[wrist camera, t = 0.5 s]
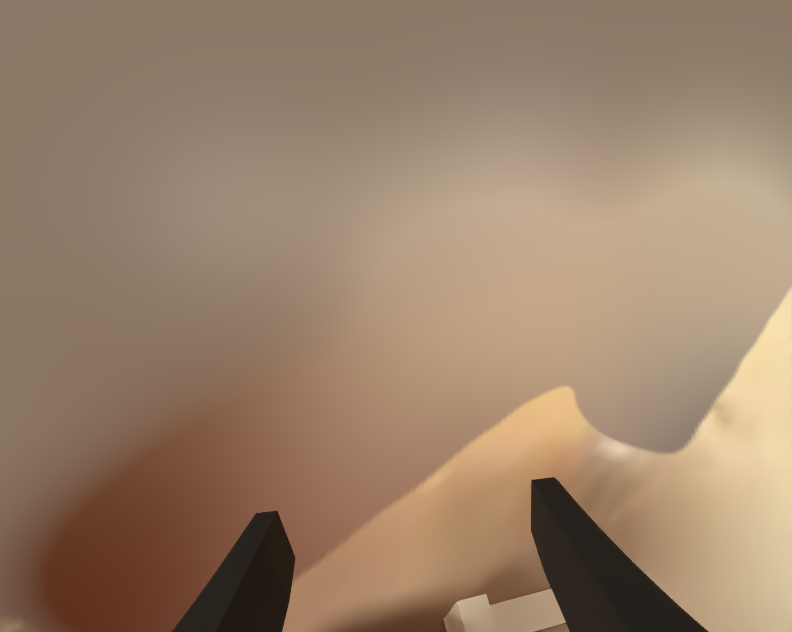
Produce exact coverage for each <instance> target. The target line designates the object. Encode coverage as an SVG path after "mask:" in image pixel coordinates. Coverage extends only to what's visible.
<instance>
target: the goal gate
mask: <svg viewBox="0 0 792 632" xmlns="http://www.w3.org/2000/svg"><path fill="white" fill-rule="evenodd" d="M443 620H444V624H445V628H446V632H536V631H539V630H543V629H546V628H549V627H553V626H556V625H559V624H563V623H566V621H565V619H564V617H563V614H562V612H561V610H560V607H559V605H558V603H557V600H556V598H555V596H554V593H553V591H552V589H548V590H544V591H540V592H537V593H533V594H529V595H526V596H522V597H518V598H514V599H511V600H507V601H503V602H499V603H496V604H492V605H490V604H489V601H488V598H487V595H486V594H483V595H479V596H475V597H472V598H468V599H464V600H460V601H457V602H456V603H455V605H454V606H453V607H452V609H451V610H450V611H449V613H448V614H447V615H446V617H444V618H443Z"/></svg>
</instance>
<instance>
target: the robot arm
mask: <svg viewBox="0 0 792 632" xmlns="http://www.w3.org/2000/svg"><path fill="white" fill-rule="evenodd" d="M531 532H532V535H533V538H534V541H535V544H536V548H537V551H538V554H539V557H540V560H541V563H542V566H543V569H544V572H545V574H546V577H547V579H548V581H549V584H550V586H551V589H552V591H553V593H554V596H555V598H556V600H557V603H558V605H559V607H560V610H561V612H562V614H563V617H564V619H565V621H566V624H567V626H568V628H569V631H570V632H708V631H707V630H706V629H705V628H703V627H702V626H701V625H700V624H699V623H698V622H697V621H695V620H694V619H693V618H692V617H691V616H690V615H689V614H688V613H686V612H685V611H684V610H683V609H682V608H681V607H680V606H679V605H678V604H676V603H675V602H674V601H673V600H672V599H671V598H670V597H669V596H668V595H667V594H666V593H665V592H663V591H662V590H661V589H660V588H659V587H658V586H657V585H656V584H655V583H654V582H653V581H652V580H651V579H650V578H649V577H648V576H647V575H646V574H645V573H644V572H643V571H642V570H640V569H639V568H638V567H637V566H636V565H635V564H634V563H633V562H632V561H631V560H630V559H629V558H628V557H627V556H626V555H625V554H624V552H623V551H622V550H621V549H620V548H619V547H618V546H617V545H616V544H615V543H614V542H613V541H612V540H611V539H610V538H609V537H608V536H607V535H606V534H605V533H604V532H603V531H602V530H601V529H600V528H599V527H598V525H597V524H596V523H595V522H594V521H593V520H592V519H591V518H590V517H589V516H588V515H587V513H586V512H585V511H584V510H583V509H582V508H581V507H580V506H579V505H578V503H577V502H576V501H575V500H574V499H573V498H572V497H571V495H570V494H569V493H568V492H567V491H566V490H565V488H564V487H563V486H562V485H561V484H560V482H559V481H558V480H557V479H555V478H554V477H553V478H544V479H536V480H532V483H531ZM294 564H295V556H294V553H293V550H292V548H291V545H290V543H289V540H288V537H287V535H286V532H285V530H284V527H283V525H282V522H281V520H280V517H279V514H278V511H271V512H263V513H256V514H255V516H254V517H253V518H252V520H251V521H250V523H249V524H248V526H247V527H246V529H245V530H244V531H243V533H242V534H241V536H240V537H239V539H238V540H237V542H236V543H235V545H234V546H233V548H232V549H231V551H230V552H229V553H228V555H227V556H226V558H225V559H224V561H223V562H222V564H221V565H220V567H219V568H218V569H217V571H216V572H215V574H214V575H213V577H212V578H211V579H210V581H209V582H208V583H207V585H206V586H205V588H204V589H203V590H202V592H201V593H200V595H199V596H198V597H197V599H196V600H195V602H194V603H193V604H192V606H191V607H190V608H189V610H188V611H187V612H186V614H185V615H184V616H183V617H182V619H181V620H180V622H179V623H178V624H177V625H176V627H175V628H174V629H173V631H172V632H282V629H283V625H284V621H285V617H286V613H287V608H288V604H289V599H290V593H291V586H292V579H293V572H294Z"/></svg>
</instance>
